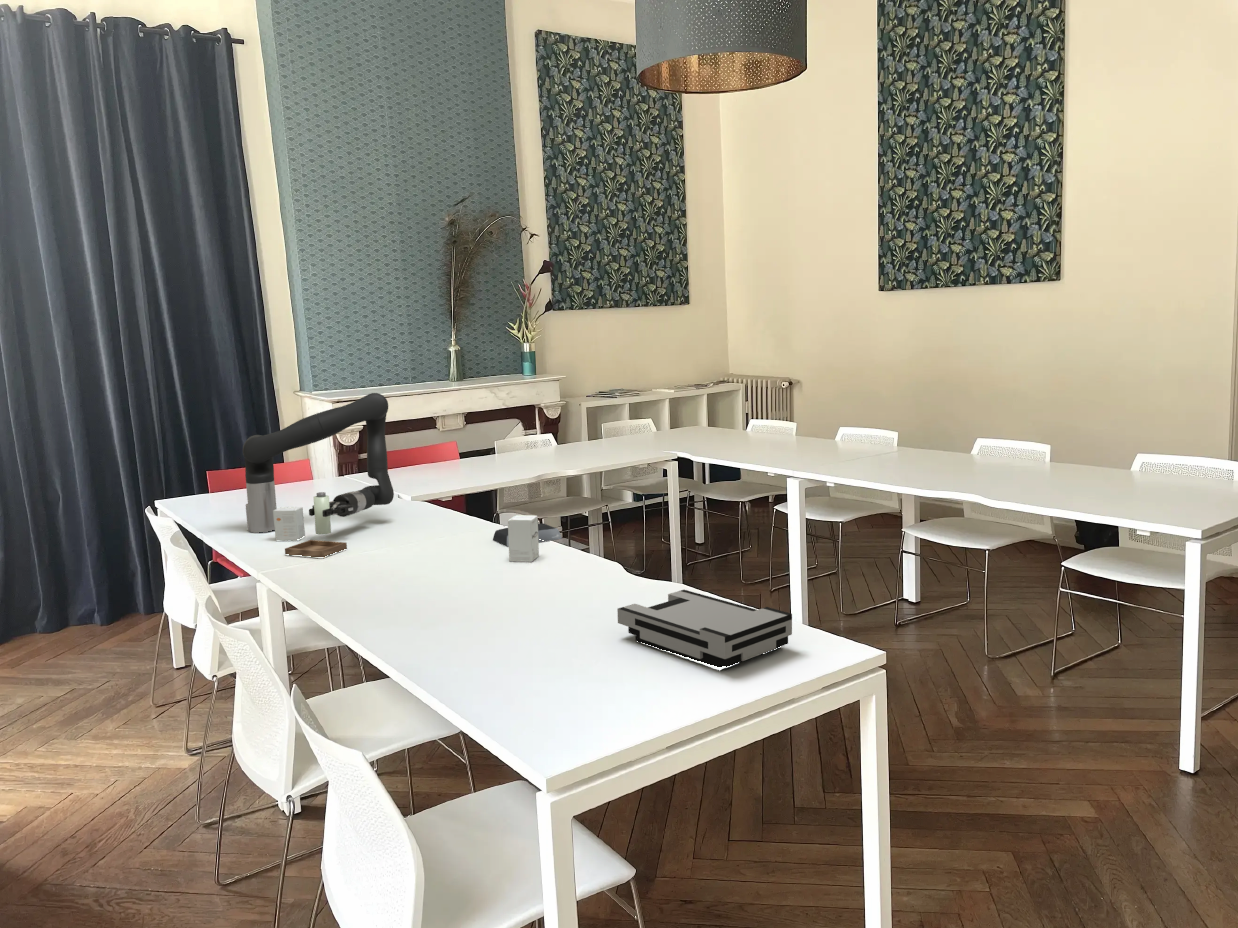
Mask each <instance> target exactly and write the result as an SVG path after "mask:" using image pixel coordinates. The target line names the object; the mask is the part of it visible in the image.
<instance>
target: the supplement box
mask: <svg viewBox="0 0 1238 928" xmlns="http://www.w3.org/2000/svg"><path fill="white" fill-rule="evenodd" d="M538 524H539V519H538V515H525V514H524V515H517V514H516V515H514V516H512V517H510V519H508V520H507V528H508V539H509V547H508V561H509V562H514V563H515V562H517V563H518V562H521V563H532V562H533V561H535V560H536V558H538V557H540V550H539V549H540V547H539V546H540V545H539V542H538Z"/></svg>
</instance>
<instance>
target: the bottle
mask: <svg viewBox="0 0 1238 928" xmlns="http://www.w3.org/2000/svg"><path fill="white" fill-rule="evenodd" d="M329 502H330V495H327V494H326V492H325V491H324V492H323V491H321V492H316V495H314V496H313V505H314V514H315V515H314V528H315V535H328V534H331V533H332V530H331V529H332V526H331V525H332V524H331V515H330V516H327V517H323V510H325V509H329V508H330V506H329Z"/></svg>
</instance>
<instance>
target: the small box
mask: <svg viewBox="0 0 1238 928" xmlns="http://www.w3.org/2000/svg"><path fill="white" fill-rule="evenodd" d="M273 515H274V526H275V531H274V535H275V541H276V540H297V539H300V538H302V537H303V536H305V537H306V531H305V519H304V509H303V506H295V507H294V506H291V507H289V506H285V507H282V506H281V507H278V508H277V509H276V510H274V511H273Z"/></svg>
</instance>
